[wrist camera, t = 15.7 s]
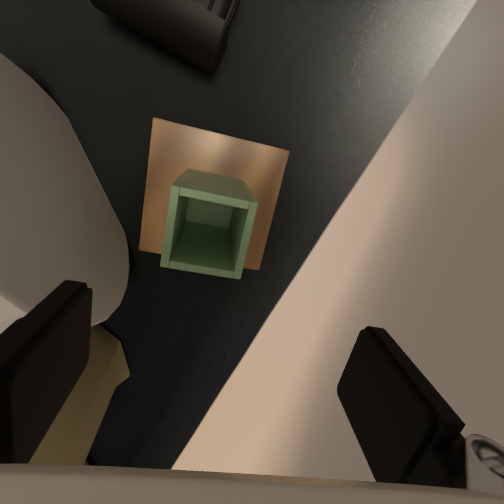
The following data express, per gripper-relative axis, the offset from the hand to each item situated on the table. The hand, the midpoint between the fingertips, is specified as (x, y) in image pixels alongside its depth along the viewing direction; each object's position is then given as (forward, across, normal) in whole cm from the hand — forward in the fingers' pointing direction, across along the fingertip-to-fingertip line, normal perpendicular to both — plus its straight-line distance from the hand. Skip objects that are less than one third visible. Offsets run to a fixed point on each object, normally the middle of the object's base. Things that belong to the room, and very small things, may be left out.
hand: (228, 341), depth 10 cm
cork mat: (+24, +1, 0) cm, 24 cm away
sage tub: (+24, +1, 0) cm, 24 cm away
